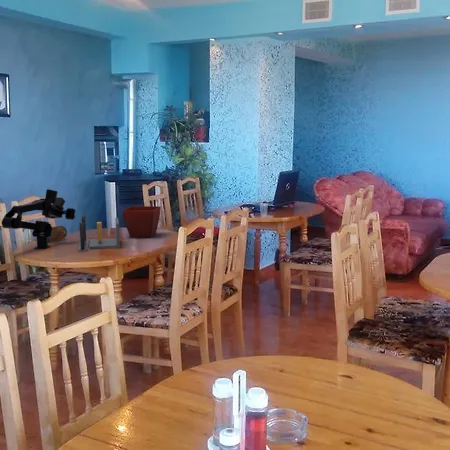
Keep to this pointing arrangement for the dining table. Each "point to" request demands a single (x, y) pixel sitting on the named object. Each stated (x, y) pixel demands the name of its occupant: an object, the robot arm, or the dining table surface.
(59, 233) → the tin
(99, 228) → the lever
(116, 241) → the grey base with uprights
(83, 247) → the stand
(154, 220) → the plant pot
